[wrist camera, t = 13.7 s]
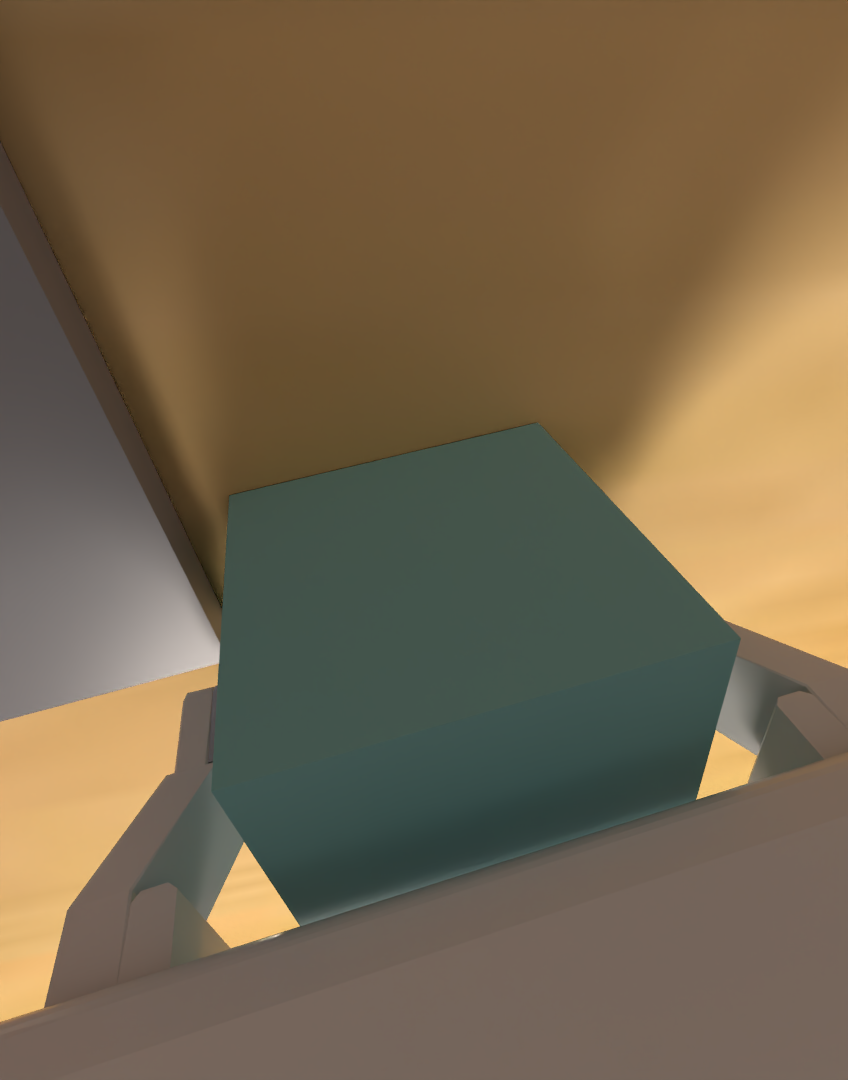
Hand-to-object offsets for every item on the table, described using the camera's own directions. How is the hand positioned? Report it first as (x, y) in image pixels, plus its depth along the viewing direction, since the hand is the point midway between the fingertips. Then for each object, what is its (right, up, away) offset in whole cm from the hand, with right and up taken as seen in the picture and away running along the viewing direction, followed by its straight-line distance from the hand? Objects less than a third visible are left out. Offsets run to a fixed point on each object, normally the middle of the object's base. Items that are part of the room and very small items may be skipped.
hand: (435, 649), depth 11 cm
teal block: (0, +1, +2) cm, 2 cm away
